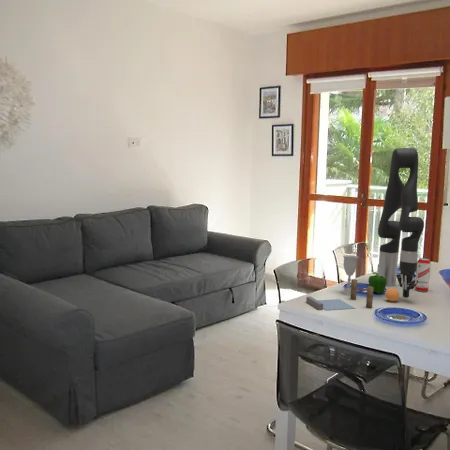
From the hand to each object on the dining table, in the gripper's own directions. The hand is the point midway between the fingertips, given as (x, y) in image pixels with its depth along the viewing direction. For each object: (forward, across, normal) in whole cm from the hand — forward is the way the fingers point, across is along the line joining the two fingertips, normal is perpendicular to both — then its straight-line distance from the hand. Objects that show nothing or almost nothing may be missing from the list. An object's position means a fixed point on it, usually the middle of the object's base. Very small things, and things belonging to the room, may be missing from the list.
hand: (405, 297), depth 229 cm
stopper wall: (+2, -2, -46) cm, 46 cm away
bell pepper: (+2, -16, -4) cm, 16 cm away
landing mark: (+2, -2, -37) cm, 37 cm away
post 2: (+2, +5, -23) cm, 24 cm away
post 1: (+2, -8, -23) cm, 24 cm away
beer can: (+2, -14, +20) cm, 25 cm away
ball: (-1, -1, -7) cm, 7 cm away
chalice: (+2, -17, -20) cm, 26 cm away
